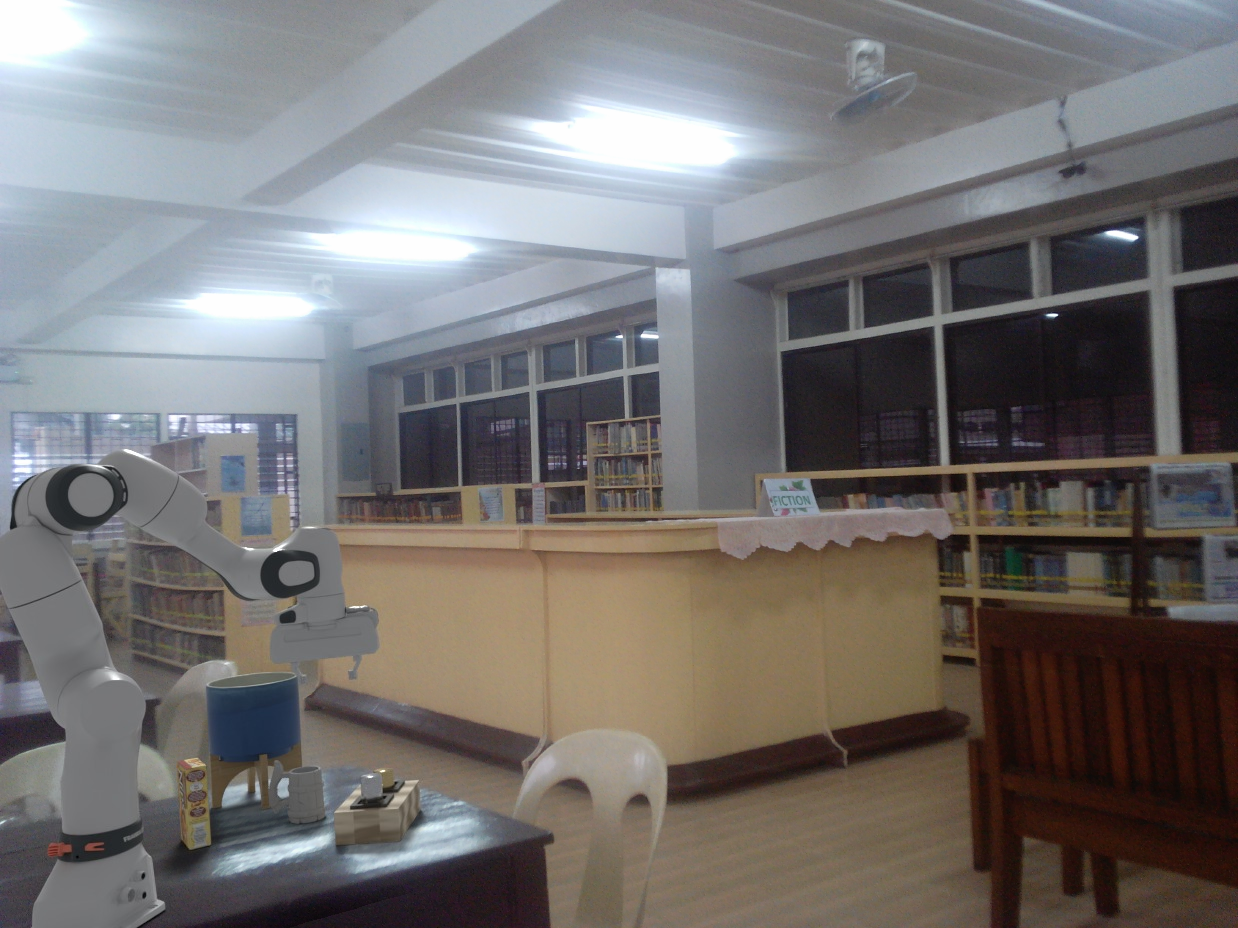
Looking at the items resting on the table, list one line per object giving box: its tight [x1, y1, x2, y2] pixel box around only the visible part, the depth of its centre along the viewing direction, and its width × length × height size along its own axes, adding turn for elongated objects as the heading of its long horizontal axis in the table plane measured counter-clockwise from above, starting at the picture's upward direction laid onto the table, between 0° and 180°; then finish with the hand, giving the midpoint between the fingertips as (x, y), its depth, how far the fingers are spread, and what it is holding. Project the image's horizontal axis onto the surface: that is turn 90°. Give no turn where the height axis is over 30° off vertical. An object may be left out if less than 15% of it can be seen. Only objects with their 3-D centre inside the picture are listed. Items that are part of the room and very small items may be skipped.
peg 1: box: [359, 772, 383, 804], centre depth 200 cm, size 4×4×6 cm
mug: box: [268, 760, 327, 825], centre depth 214 cm, size 8×12×12 cm, turn 85°
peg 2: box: [372, 767, 395, 789], centre depth 209 cm, size 4×4×6 cm
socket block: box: [333, 779, 422, 846], centre depth 204 cm, size 20×12×7 cm, turn 0°
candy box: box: [176, 757, 212, 851], centre depth 202 cm, size 9×4×15 cm, turn 33°
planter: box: [205, 671, 303, 810], centre depth 231 cm, size 19×19×26 cm
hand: (328, 681), depth 200 cm, fingers open, 8 cm apart
